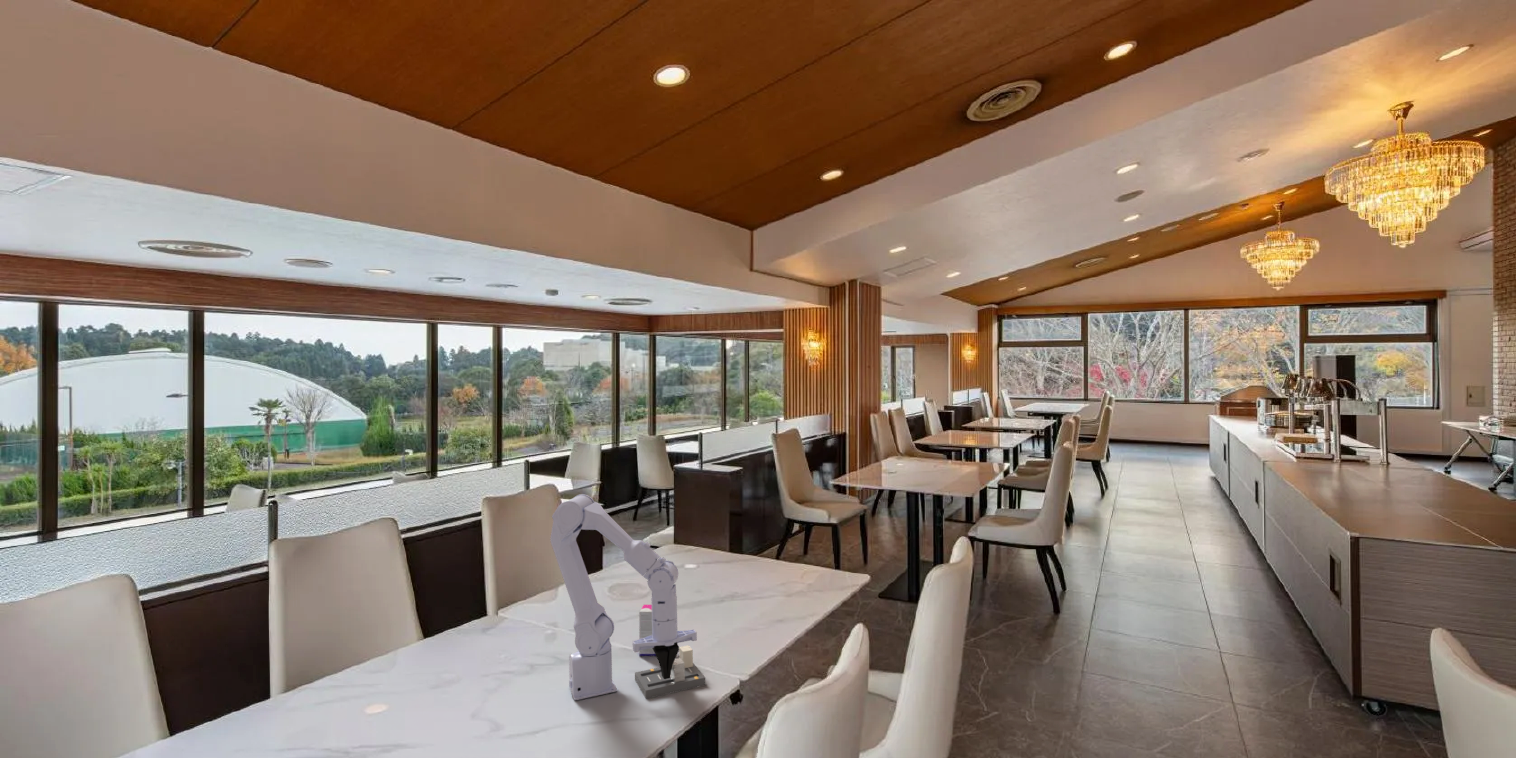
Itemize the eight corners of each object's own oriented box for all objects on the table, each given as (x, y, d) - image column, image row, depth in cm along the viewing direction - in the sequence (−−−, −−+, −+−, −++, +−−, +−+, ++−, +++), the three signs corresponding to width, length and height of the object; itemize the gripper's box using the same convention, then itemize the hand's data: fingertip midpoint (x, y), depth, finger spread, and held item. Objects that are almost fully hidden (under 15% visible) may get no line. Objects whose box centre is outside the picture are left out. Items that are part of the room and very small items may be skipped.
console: (645, 698, 144) (645, 690, 144) (635, 680, 153) (634, 672, 153) (705, 685, 150) (705, 676, 150) (691, 668, 159) (691, 660, 159)
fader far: (683, 671, 155) (682, 651, 155) (679, 666, 157) (679, 647, 157) (693, 669, 156) (692, 649, 156) (689, 664, 158) (688, 645, 158)
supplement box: (661, 656, 166) (660, 611, 167) (638, 656, 167) (637, 611, 167) (665, 647, 172) (664, 603, 172) (643, 647, 172) (642, 604, 172)
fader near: (674, 685, 148) (674, 664, 148) (670, 679, 150) (670, 659, 150) (684, 683, 149) (684, 662, 149) (680, 677, 151) (680, 657, 151)
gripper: (637, 628, 142) (638, 691, 142) (700, 617, 148) (702, 677, 148) (629, 618, 148) (631, 678, 148) (690, 607, 154) (692, 665, 154)
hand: (665, 676), depth 148 cm, fingers closed
